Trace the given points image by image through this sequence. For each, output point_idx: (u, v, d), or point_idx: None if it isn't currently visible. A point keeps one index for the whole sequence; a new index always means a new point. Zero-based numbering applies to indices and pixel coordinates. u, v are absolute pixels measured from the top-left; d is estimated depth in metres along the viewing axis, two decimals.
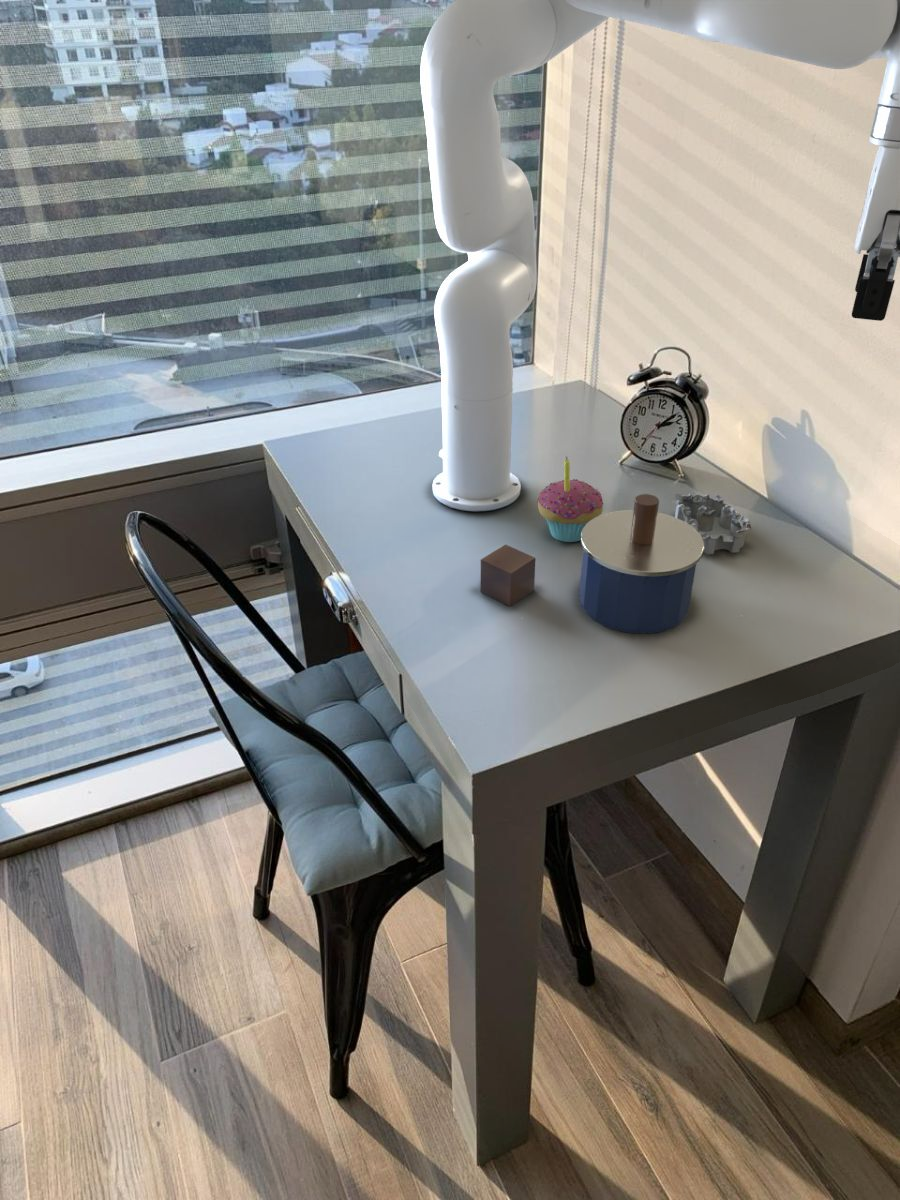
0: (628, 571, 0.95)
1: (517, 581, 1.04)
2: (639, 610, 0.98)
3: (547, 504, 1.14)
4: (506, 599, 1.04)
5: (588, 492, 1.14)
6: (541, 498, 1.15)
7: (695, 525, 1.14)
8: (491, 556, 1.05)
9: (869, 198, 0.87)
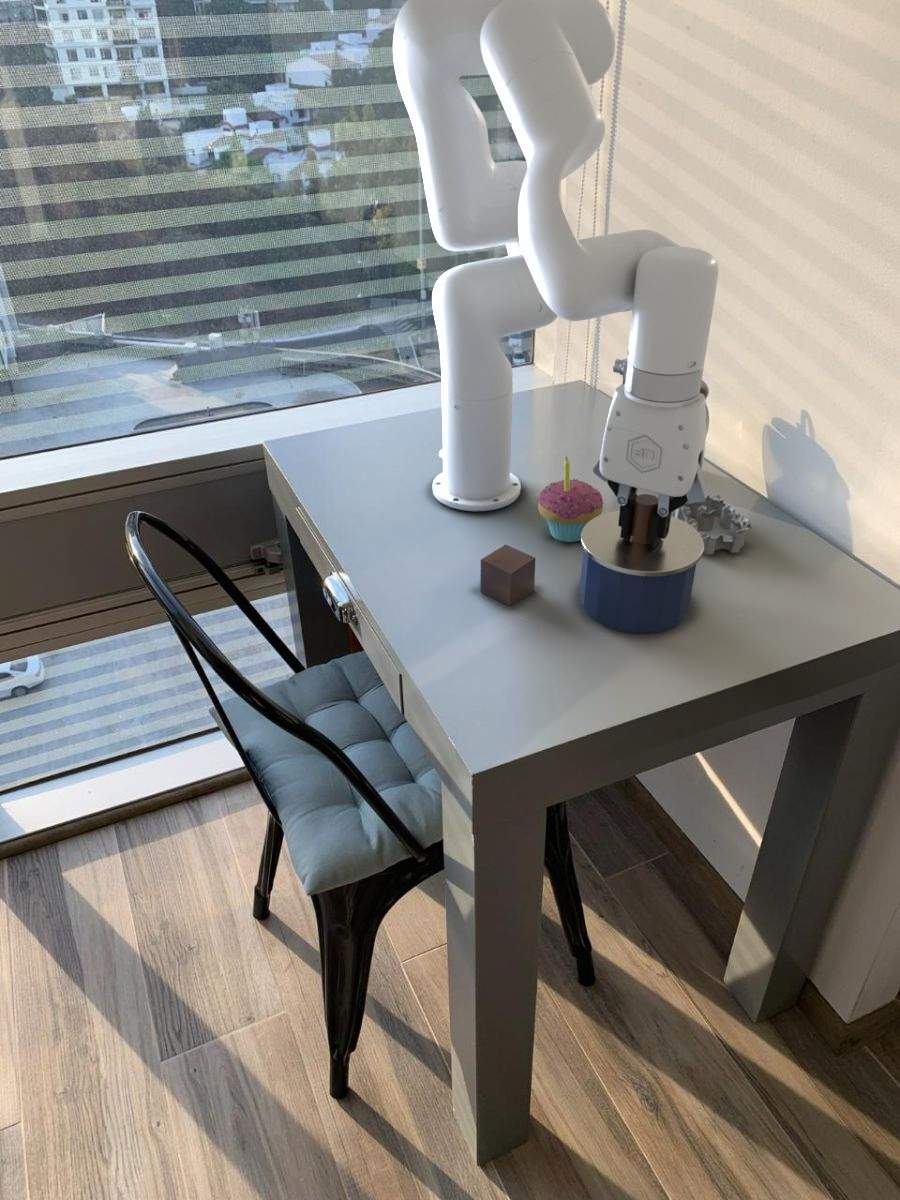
0: (628, 571, 0.95)
1: (517, 581, 1.04)
2: (639, 610, 0.98)
3: (547, 503, 1.14)
4: (506, 599, 1.04)
5: (588, 492, 1.14)
6: (541, 498, 1.15)
7: (695, 525, 1.14)
8: (491, 556, 1.05)
9: (687, 451, 0.89)
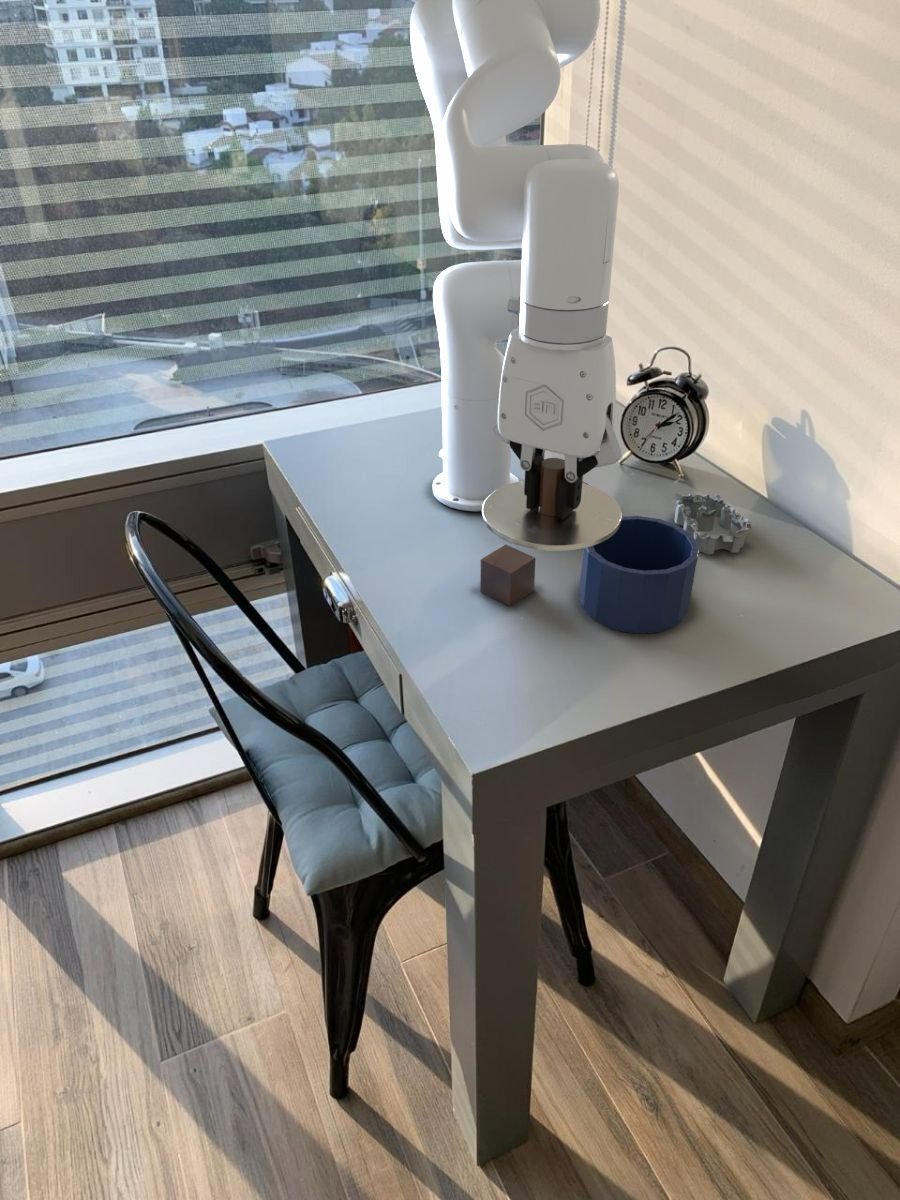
0: (530, 545, 0.82)
1: (517, 581, 1.04)
2: (639, 610, 0.98)
3: None
4: (506, 599, 1.04)
5: None
6: None
7: (695, 525, 1.14)
8: (491, 556, 1.05)
9: (591, 403, 0.76)
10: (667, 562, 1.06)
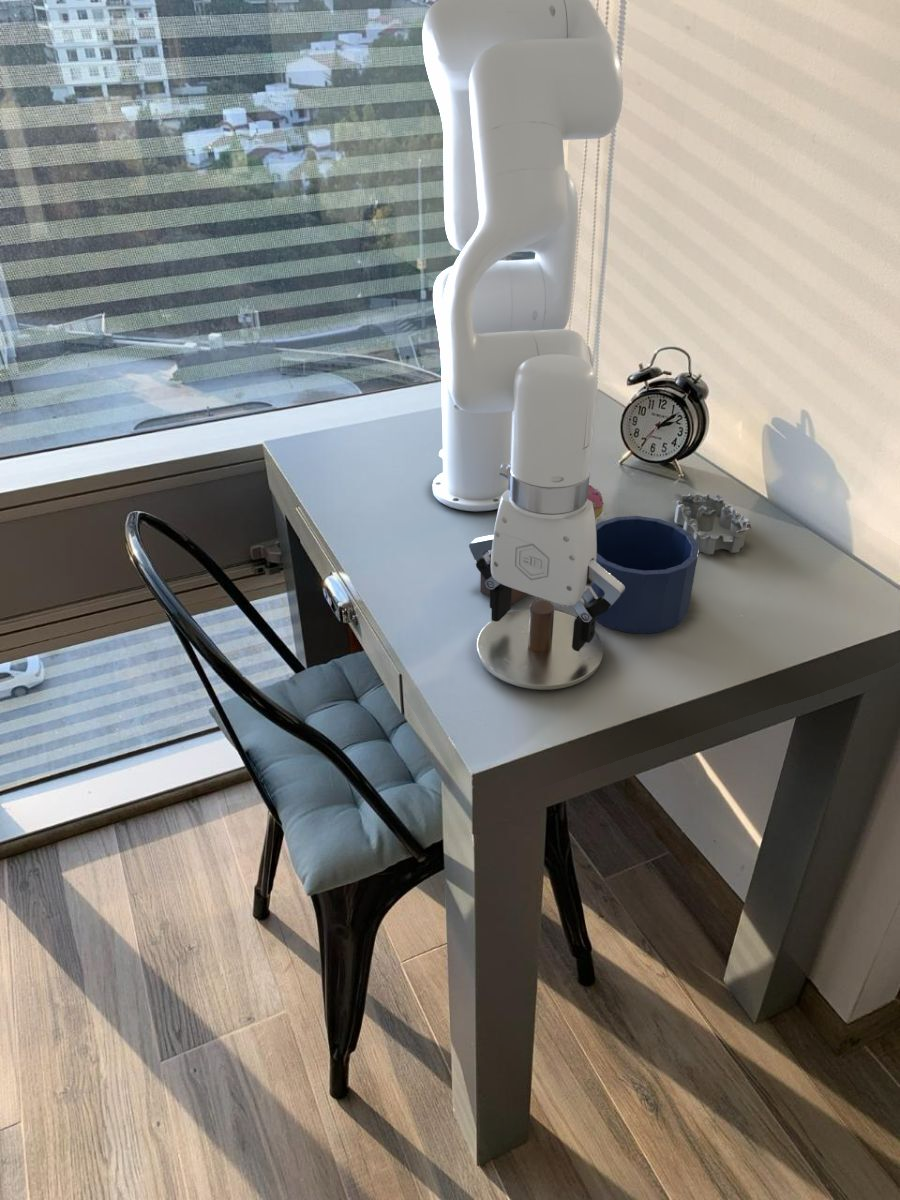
0: (519, 683, 0.92)
1: None
2: (639, 610, 0.98)
3: None
4: None
5: (588, 492, 1.14)
6: None
7: (695, 525, 1.14)
8: None
9: (573, 563, 0.86)
10: (667, 562, 1.06)
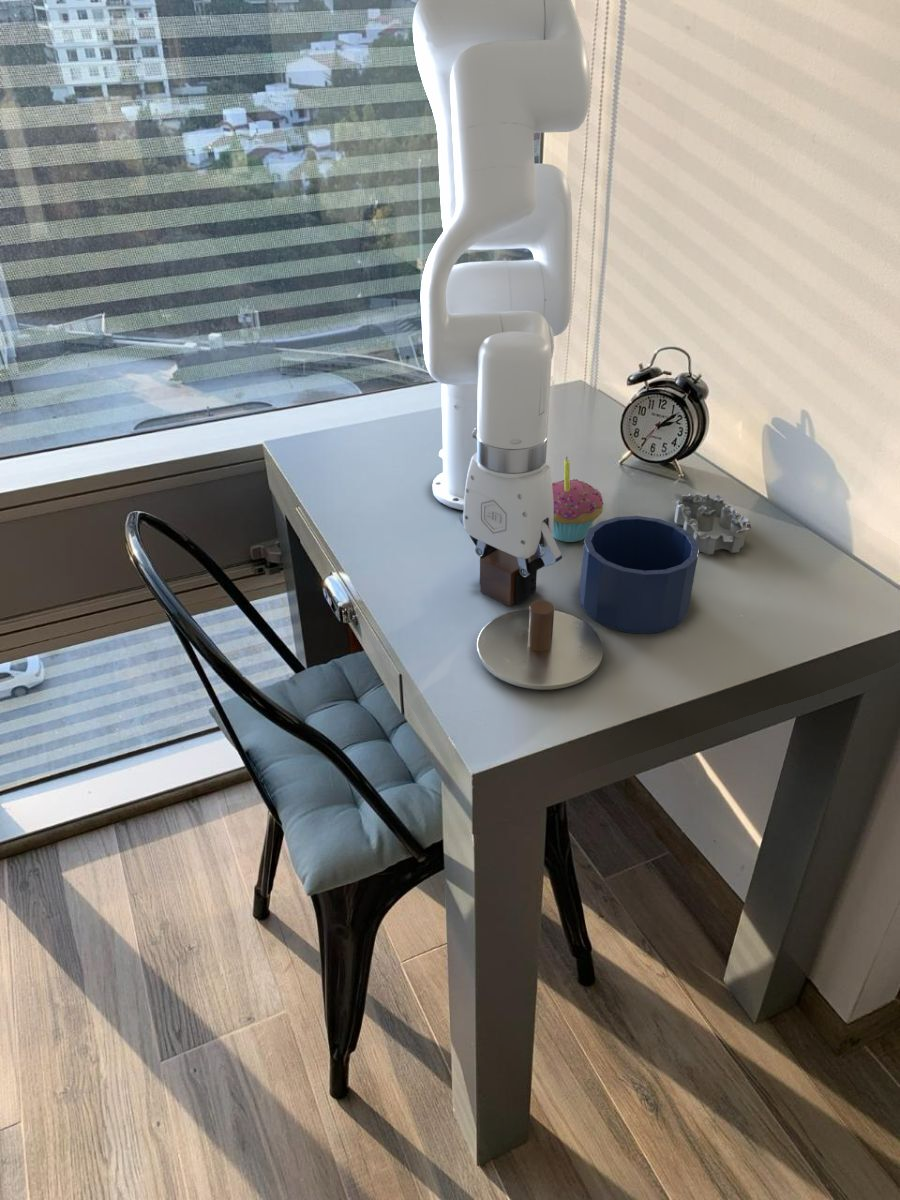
0: (519, 683, 0.92)
1: None
2: (639, 610, 0.98)
3: None
4: (506, 599, 1.04)
5: (588, 492, 1.14)
6: None
7: (695, 525, 1.14)
8: (491, 556, 1.05)
9: (526, 519, 0.96)
10: (667, 562, 1.06)
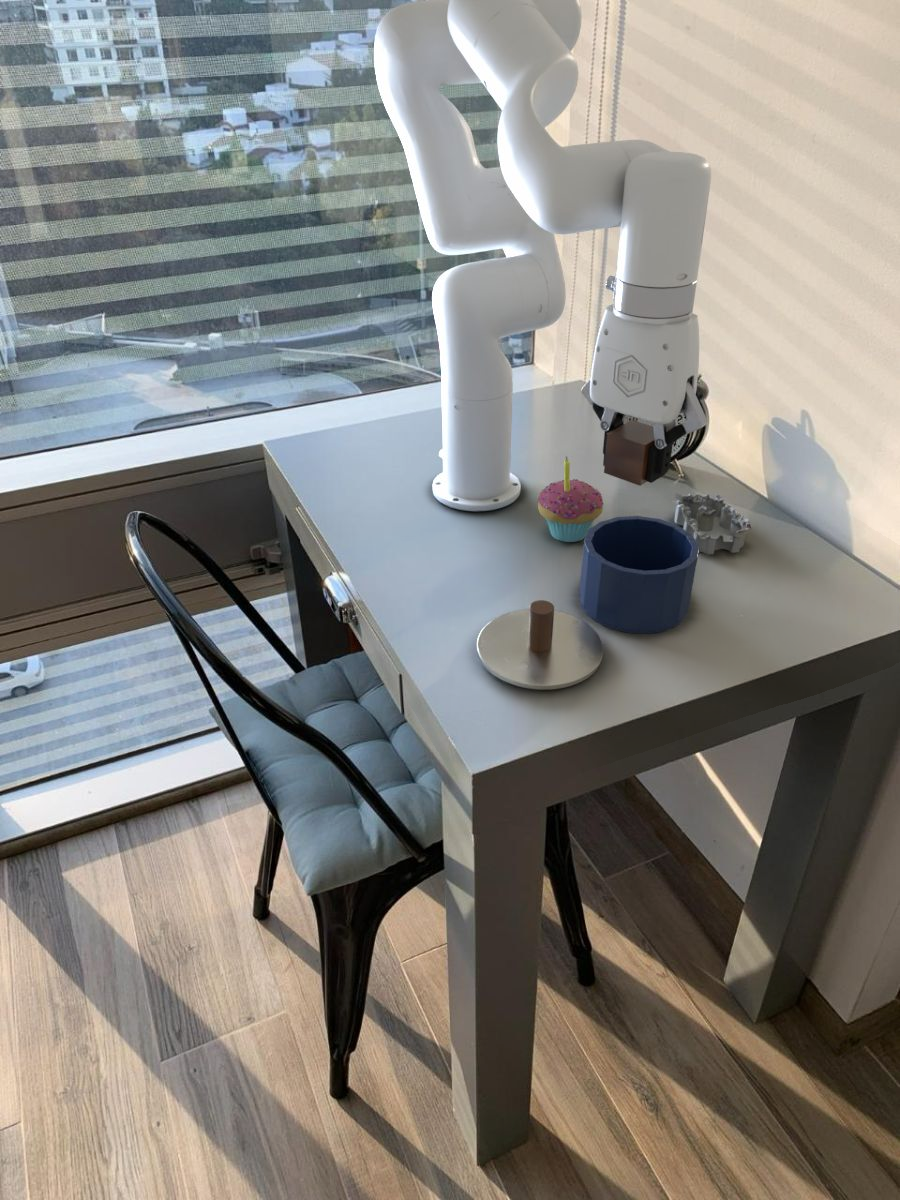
0: (519, 683, 0.92)
1: None
2: (639, 610, 0.98)
3: (547, 503, 1.14)
4: (636, 477, 0.93)
5: (588, 492, 1.14)
6: (541, 498, 1.15)
7: (695, 525, 1.14)
8: (618, 430, 0.93)
9: (671, 374, 0.85)
10: (667, 562, 1.06)
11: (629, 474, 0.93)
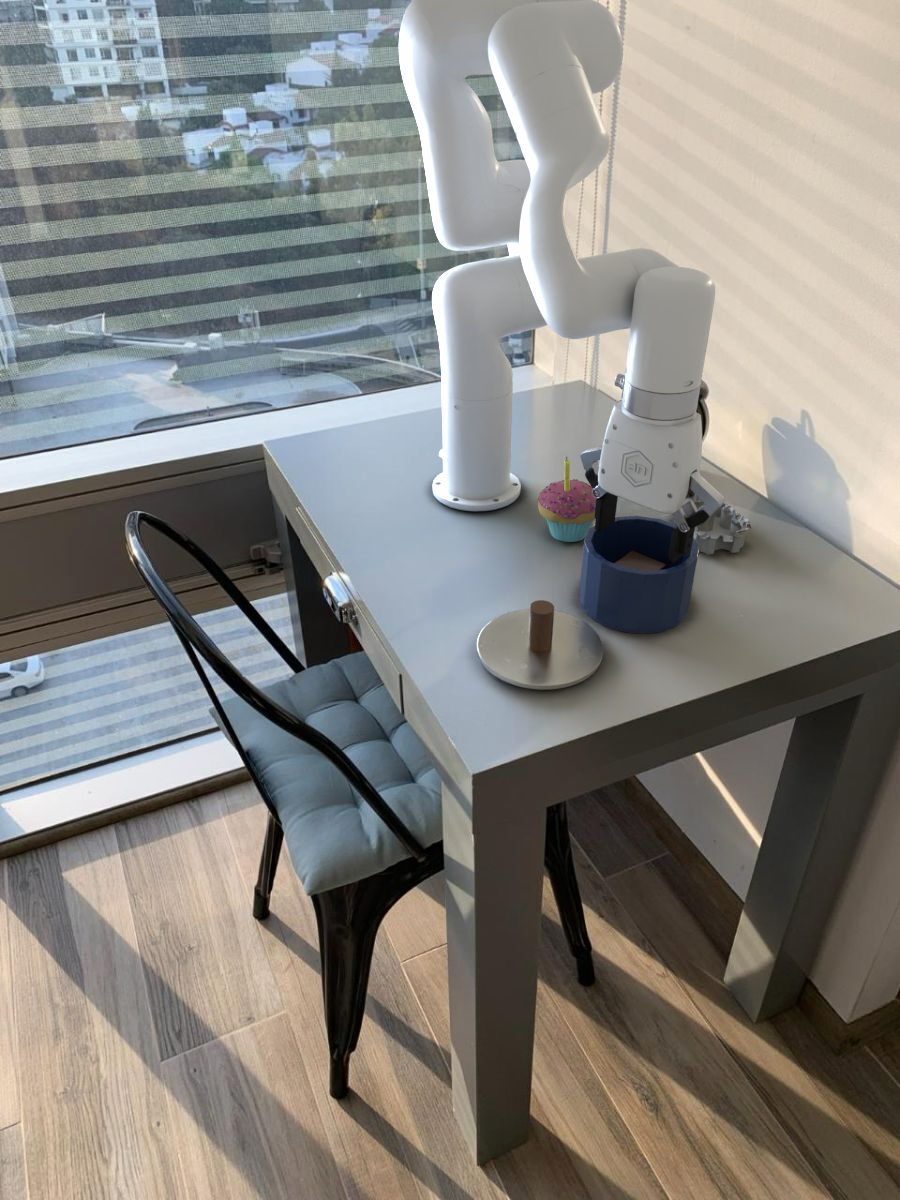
0: (519, 683, 0.92)
1: None
2: (639, 610, 0.98)
3: (547, 503, 1.14)
4: None
5: (588, 492, 1.14)
6: (541, 498, 1.15)
7: None
8: (620, 563, 1.03)
9: (676, 470, 0.90)
10: (667, 562, 1.06)
11: None
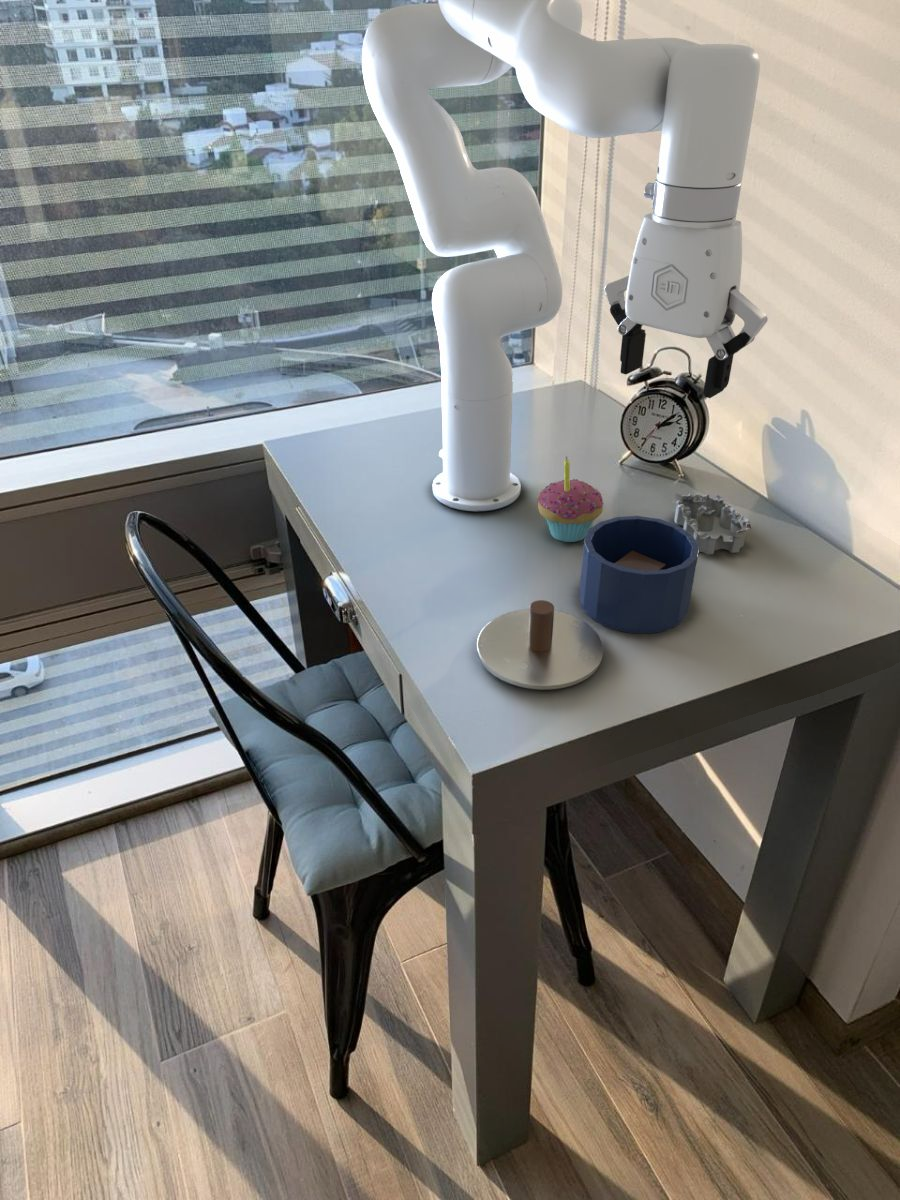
0: (519, 683, 0.92)
1: None
2: (639, 610, 0.98)
3: (547, 503, 1.14)
4: None
5: (588, 492, 1.14)
6: (541, 498, 1.15)
7: (695, 525, 1.14)
8: (620, 563, 1.03)
9: (714, 282, 0.81)
10: (667, 562, 1.06)
11: None
